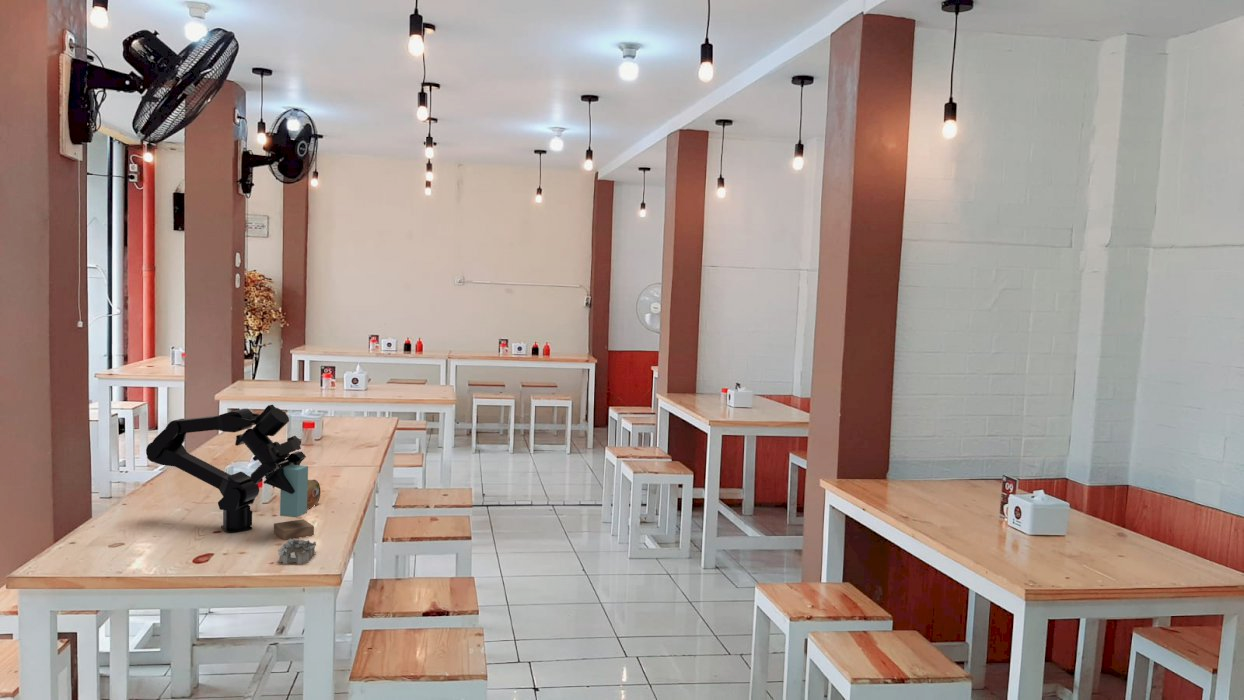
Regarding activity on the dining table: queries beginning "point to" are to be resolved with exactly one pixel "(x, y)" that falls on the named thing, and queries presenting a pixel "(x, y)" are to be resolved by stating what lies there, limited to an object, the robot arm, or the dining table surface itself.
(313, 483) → the tin
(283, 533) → the walnut plinth
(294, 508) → the teal block
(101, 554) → the dining table surface
